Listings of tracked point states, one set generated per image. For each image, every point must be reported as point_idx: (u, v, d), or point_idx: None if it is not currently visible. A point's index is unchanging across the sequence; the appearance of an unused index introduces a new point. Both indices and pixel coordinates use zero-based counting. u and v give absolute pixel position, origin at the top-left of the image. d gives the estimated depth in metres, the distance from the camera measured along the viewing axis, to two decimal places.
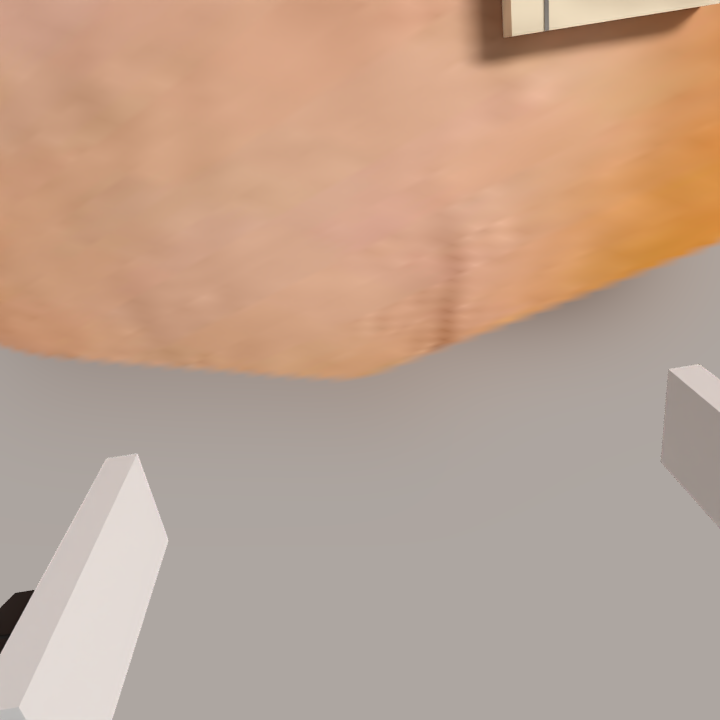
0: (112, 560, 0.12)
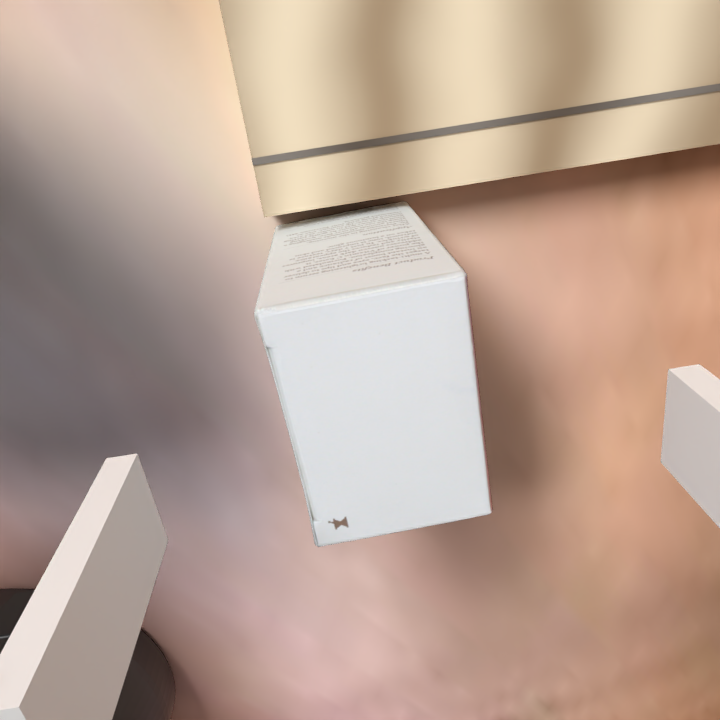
0: (112, 560, 0.12)
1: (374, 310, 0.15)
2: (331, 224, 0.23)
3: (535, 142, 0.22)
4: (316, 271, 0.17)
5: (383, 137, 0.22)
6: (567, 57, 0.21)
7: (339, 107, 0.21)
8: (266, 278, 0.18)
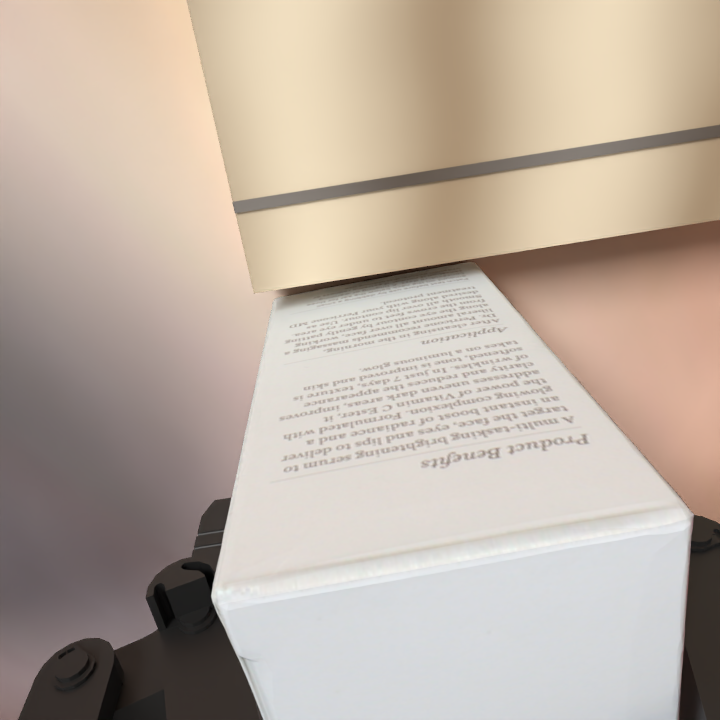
0: None
1: (481, 591, 0.07)
2: (362, 306, 0.14)
3: (696, 175, 0.14)
4: (344, 450, 0.09)
5: (450, 166, 0.13)
6: None
7: (378, 118, 0.13)
8: (247, 456, 0.09)
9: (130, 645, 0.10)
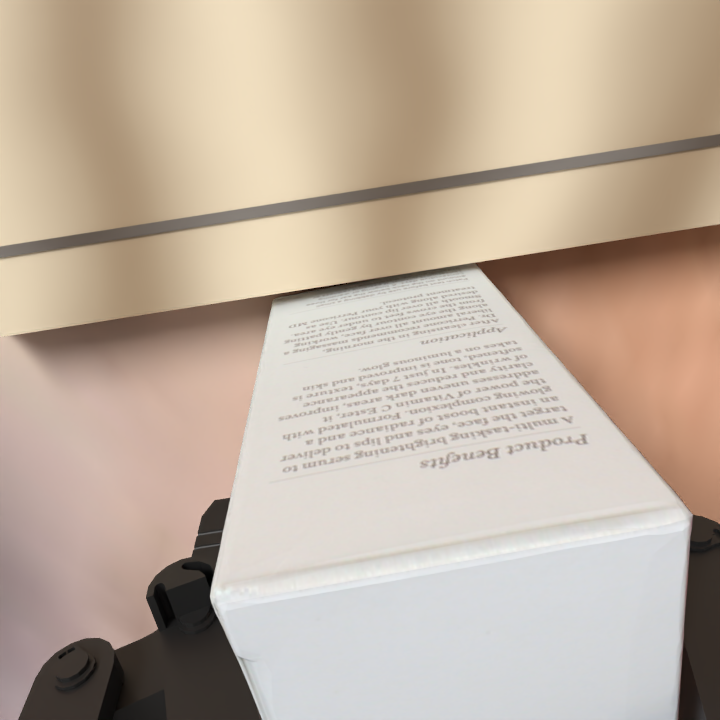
0: None
1: (479, 591, 0.07)
2: (361, 306, 0.14)
3: (370, 233, 0.14)
4: (344, 450, 0.09)
5: (124, 226, 0.14)
6: (408, 104, 0.13)
7: (44, 182, 0.13)
8: (246, 456, 0.09)
9: (130, 645, 0.10)
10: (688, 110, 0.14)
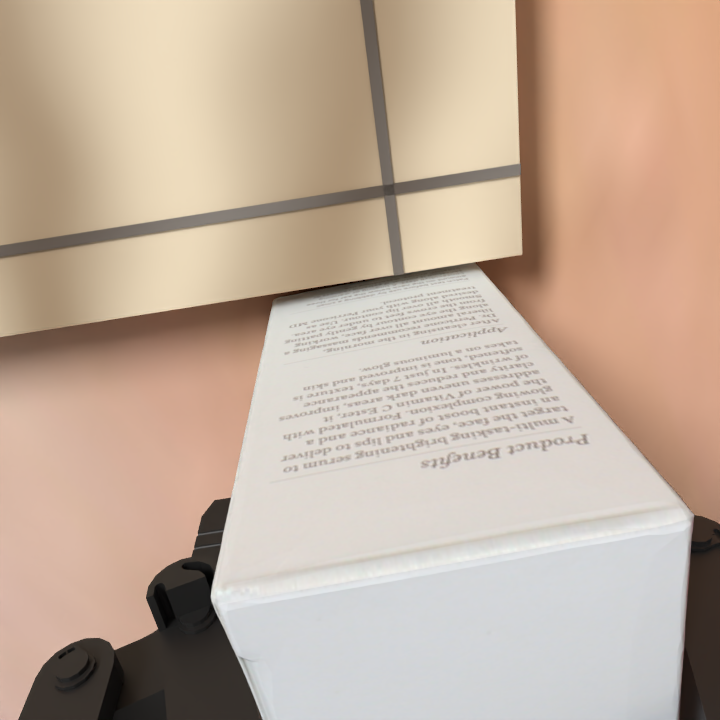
0: None
1: (481, 591, 0.07)
2: (361, 306, 0.14)
3: (20, 287, 0.14)
4: (344, 450, 0.09)
5: None
6: (29, 161, 0.13)
7: None
8: (247, 456, 0.09)
9: (131, 645, 0.10)
10: (326, 165, 0.14)
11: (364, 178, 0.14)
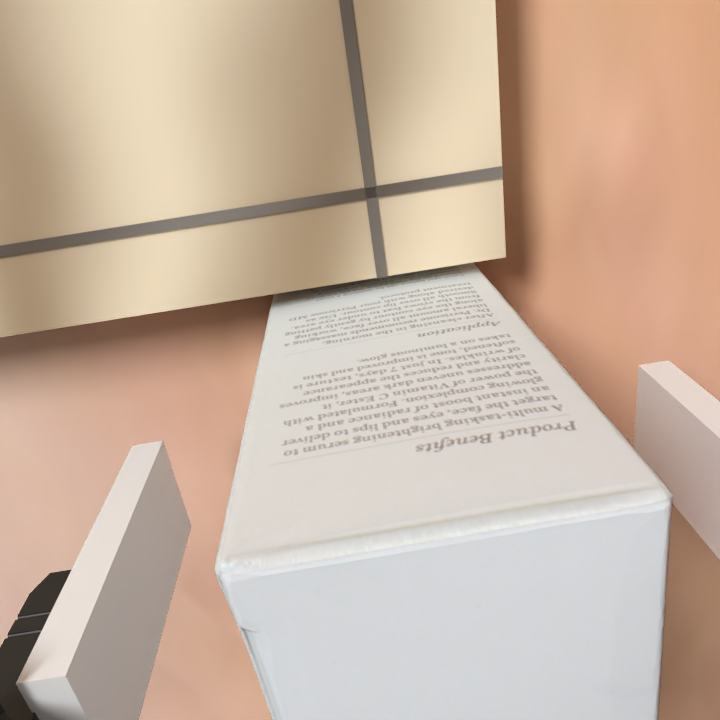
0: (142, 542, 0.13)
1: (471, 565, 0.07)
2: (360, 301, 0.14)
3: (2, 290, 0.14)
4: (343, 435, 0.09)
5: None
6: (8, 164, 0.13)
7: None
8: (249, 440, 0.10)
9: None
10: (307, 167, 0.13)
11: (346, 181, 0.14)
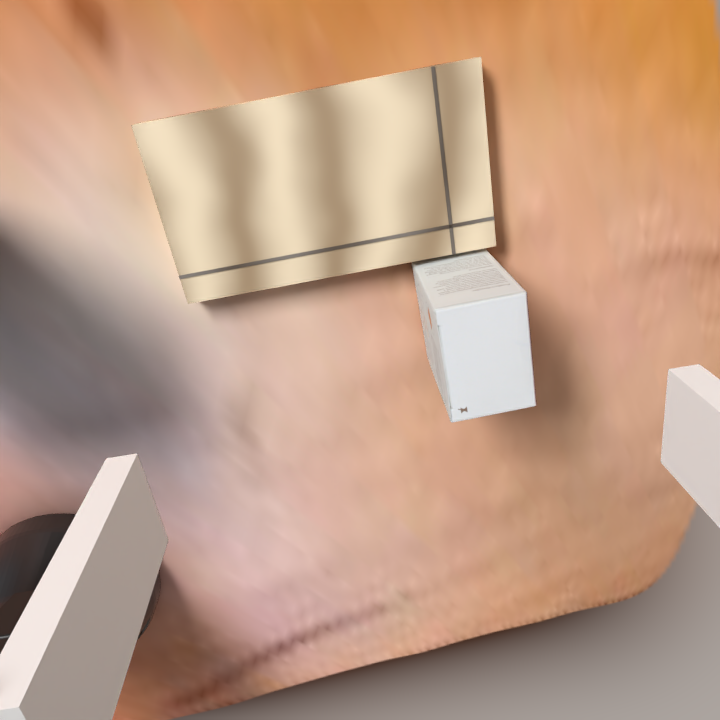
0: (112, 560, 0.12)
1: (486, 308, 0.35)
2: (446, 262, 0.43)
3: (328, 262, 0.43)
4: (453, 290, 0.37)
5: (246, 262, 0.42)
6: (337, 221, 0.41)
7: (221, 249, 0.42)
8: (429, 294, 0.38)
9: None
10: (430, 218, 0.42)
11: (442, 222, 0.42)
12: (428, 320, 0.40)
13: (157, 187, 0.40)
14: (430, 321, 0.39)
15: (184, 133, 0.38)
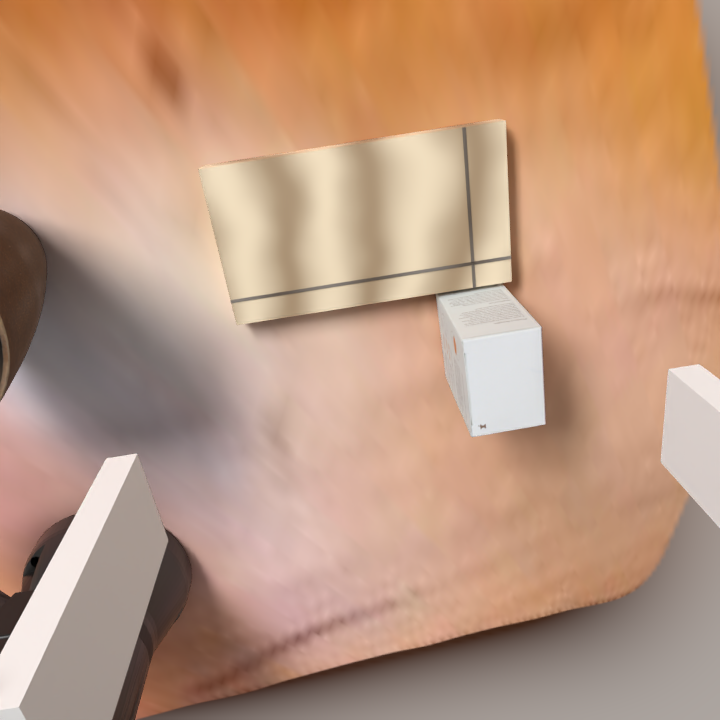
0: (112, 560, 0.12)
1: (506, 340, 0.41)
2: (468, 294, 0.48)
3: (363, 291, 0.48)
4: (477, 322, 0.43)
5: (291, 290, 0.48)
6: (373, 256, 0.47)
7: (270, 278, 0.47)
8: (455, 324, 0.43)
9: None
10: (455, 256, 0.47)
11: (466, 260, 0.47)
12: (452, 346, 0.46)
13: (217, 223, 0.45)
14: (455, 348, 0.44)
15: (244, 177, 0.44)
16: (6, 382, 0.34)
